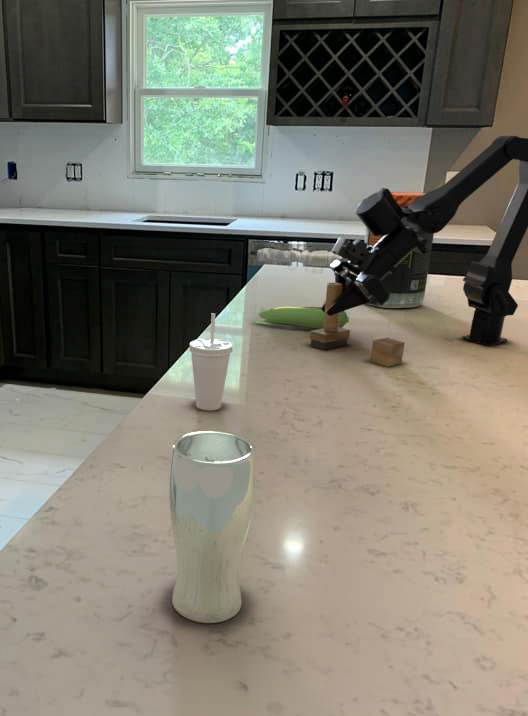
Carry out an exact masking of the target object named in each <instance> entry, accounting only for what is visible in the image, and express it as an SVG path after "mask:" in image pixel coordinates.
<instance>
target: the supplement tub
mask: <svg viewBox="0 0 528 716" xmlns="http://www.w3.org/2000/svg"><path fill="white" fill-rule="evenodd" d="M390 192H391V194H392V196H393V198H394V199H395V201H396V202H397V203H398V205H399V206H400V207H404V206H409V205H410V204H411V203H412V202H413V201H414V200H416V199H418V198H419V197H421V196H423V195H424V194H426V193H427V192H413V191H390ZM401 222H402V223H403V224H404V225H405V227H406V228H410V227H409V226H408V224H407V222H405V221H401ZM413 230H414V229H413ZM414 231H415V232H416V234H417V235H418V236H419V238H424V239H427V243H426V254H421V253H418V252H416V251H414V250H413V251H412V252H411V253H410V254H409V255H408V256H406V257H405V258H404V259H403V260H402V261H401V262H400V263H399V264H398V265H397V266H396V267H395V269H396V270H397V271H396V272H395V273H394V274H391V273H388V274H387V275H386V276H385V277H384V278H383V279H382V280H381V282H382V283H383V284H384V285H385V286H386V288H387V289H388V290H389V291H390V296H389V300H388V301H386V302H385V303H384V304H383V305H382V306H380V305H378V304H376V303H375V301H374V300H375V298H374V297H373V296H371V297H370V298H369V301H370V303H369V304H368V303H366V304H365V305H369V306H373V307H377V308H385V309H403V308H404V309H405V308H407V309H409V308H416V307H419V306H420V305H422V304H423V303H424V300H425V295H426V288H427V283H428V276H429V269H430V263H431V255H432V248H433V242H434V233H433V234H432V233H425V232H421V231H417V230H414ZM364 234H365V235H364V242H365V243H367V245H371V246H374V245H375V244H376V243H377V242H378V241H379V240H381V239H382V238H383V237H384V236H380V235H378V236H373V235H372V234H371V232H370V231H369V230H368V228H367V227H366V226H365V233H364Z"/></svg>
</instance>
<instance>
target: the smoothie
mask: <svg viewBox="0 0 528 716" xmlns="http://www.w3.org/2000/svg"><path fill="white" fill-rule="evenodd" d="M215 328H216V313H215V312H214V313H213V312H212V313H211V317H210V338H198V339H194V340H192V341H190V342H189V348H188V351H189V352H190V353H191V364H192V373H193V374H192V375H193V385H194V397H195V398H194V399H195V405H196V406H195V407H196V408H197V409H198V410H203V411H216V410H219V409H221V407H222V401H223V396H224V390H225V385H226V379H227V373H228V367H229V363H230V357H231V354H232V353H233V351H234V350H233V345H234V344H233V343H232V342H231V341H228V340H225V339H221V338H220V339H219V338H215V333H216V332H215Z"/></svg>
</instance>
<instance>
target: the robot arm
mask: <svg viewBox="0 0 528 716" xmlns="http://www.w3.org/2000/svg"><path fill="white" fill-rule="evenodd" d="M513 160H516V161H518V165H517V166H518V167H517V168H518V183H517V185H516V187H515V190H514V191H513V195H512V197H511V199H510V201H509V203H508V206H507V208H506V210H505V213H504V215H503V217H502V219H501V221H500V223H499V226H498V229H497V231H496V233H495V235H494V238H493V239H492V242H491V244H490V247H489V249H488V251H487V253H486V255H485V256H484V257H483V258H482V259H481V260H480V261H478V262H477V261H474V260H472V261H471V262H470V264H469V267H468V270H467V273H466V275H465V276H464V277H463V279H462V281H463V282H464V283H463V286H462V291H463V293H464V296H465V297H466V299H467V305H468V307H469V308H473V309H474V311H473V316H472V319H471V320H472V321H471V325H470V331H469V334H467V335H463V336H461V339H462V340H463V341H464V340H465V341H469V342H473V343H477V344H480V345H485V346H490V347H491V346H495V345H499V344H503V343H507V342H508V340H509V339H508V338H505V337H502V333H503V327H504V323H505V318H506V317H508V316H514V314H515V313H516V311H517V309H518V307H519V304H518V303H517V302H516V300H515V298H514V297H513V296H512V294H511V293H510V288H511V286H512V282H513V266H512V265H513V261H514V260H515V257H516V255H517V252H518V250H519V248H520V246H521V244H522V241H523V239H524V237H525V235H526V233H527V230H528V138H527V137H519V136H517V135H500V136H498V137H496V138H495V139H493V141H492V142H491V144H490V145H489V146H488V147H487V148H485V149H484V150H483V151H482V152H480V153H479V154H478V155H477V156H476V157H475V158H473V160H471V161H470V162H469V163H468V164H467V165H466V166H464V167H463V168H462V169H461V170H459V171H458V172H457V173H456V174H455V175H453V176H452V177H451V178H450V179H449V180H448V181H446V183H444V184H442V185H441V186H439V187H437V188H435V189H432V190H430V191H428V192H425V193H426V194H424V195H423V196H421V197H419V198H418V199H416V200H414V201H413V202H412V203H411V204H410V205H409V206H404V207H400V206H399V205H398V203H397V202H396V201H395V199H394V198H393V196H392V194H391V192H392V191H390V189H389V188H385V187H382V188H380V189H379V190H378V191H377V192H374V193H372V194H371V195H369V196H368V197H366V198H363V200H361V201H360V203H358V205H357V206H356V208H355V211H354V212H355V215H356V216H357V217H358V219H359V220H360V221H361V222H362V223H363V225H364V226H365V228H366V227H367V228H368V230H369V231H370V232H371V234H372V235H373V236H378V235H380V236H384V237H383V238H382V239H381V240H379V241H378V242H377V243H376V244H375V245H374V246H371V245H367V243H365V241H363V240H361V239H359V238H356V239H355V240H354V241H351V240H348V239H346V238H344V237H341V236H339V237H338V239H337V241H336V243H335V244H334V246H333V248H332V250H331V253H332V254H334V255H335V256H336V255H337V256H339V257H341V258H338V259H335V260H333V262H331V263H330V264H329V268H330V269H331V270H332V271H333V275H334V283H341V284H342V292H341V294H340V295H339V296H338V297H337V299H336V300H335V301H334V302H333V303H332V305H331V306H330V307H329V308H328V310H327V311H326V313H327V314H328V315H329V316H331V315H334V314H337V313H339V312H342V311H345V312H346V311H348V310H350V309H353V308H356V307H360V306H362V305H369V303H370V301H369V298H370V297H371V296H373V297H374V298H375V300H374V301H375V303H376V304H378V305H380V306H382V305H383V304H384V303H385V302H386V301H388V300H389V296H390V291H389V290H388V289H387V288H386V286H385V285H384V284H383V283H382V282H381V280H382V279H383V278H384V277H385V276H386V275H387V274H388V273H391V274H394V273H395V272H396V271H397V270H396V269H395V267H396V266H397V265H398V264H399V263H400V262H401V261H402V260H403V259H404V258H405V257H406V256H408V255H409V254H410V253H411V252H412V251H413V250H414V251H416V252H418V253H421V254H426V243H427V239H424V238H419V236H418V235H417V234H416V232H415V231H414V230H417V231H421V232H425V233H432V234H433V233H434V234H437V233H439V232H442V231H443V229H445V227H446V226H447V225H448V224H449V223H450V221H451V220H453V218H454V217H455V216H456V214H457V212H458V209H459V208H460V206H461V205H462V204H463V202H464V201H465V200H467V199H468V198H469V197H471V195H472V194H474V193H475V192H476V191H477V190H478V189H480V188H481V187H482V186H483V185H484V184H485V183H487V182H488V181H489V180H490V179H492V178H493V176H495V175H496V174H498V172H499V171H501V170H502V169H503V168H504V167H505V166H507V165H508V164H509V163H510V162H511V161H513ZM401 221H405V222H407V224H408V226H409V227H410V228H406V227H405V225H404V224H403V223H402V222H401ZM413 229H414V230H413ZM345 259H346V260H345ZM325 303H326V299H325V300H324V302H323V304H322V306H320V307H321V309H322V311H323V312H325ZM366 303H368V304H366Z"/></svg>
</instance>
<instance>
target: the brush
mask: <svg viewBox="0 0 528 716" xmlns="http://www.w3.org/2000/svg"><path fill="white" fill-rule="evenodd" d="M341 292H342V284H341V283H335V282H328V283H327V284H326V293H325V300H326V303H325V314H324V325H323V329H311V330H309V340H310V347H314V348H317V349H320V350H323V351H324V350H330V349H335V348H339V347H344V346H347V345H348V341H349V339H350V336H351V329H347V328H344V327H342V328H340V327H338V322H339V313H337V314H334V315H331V316H329V315H328V314H327V313H326V311H327V310H328V308H329V307H330V306H331V305H332V303H333V302H334V301H335V300H336V299H337V297H338V296H339V295H340V294H341Z"/></svg>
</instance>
